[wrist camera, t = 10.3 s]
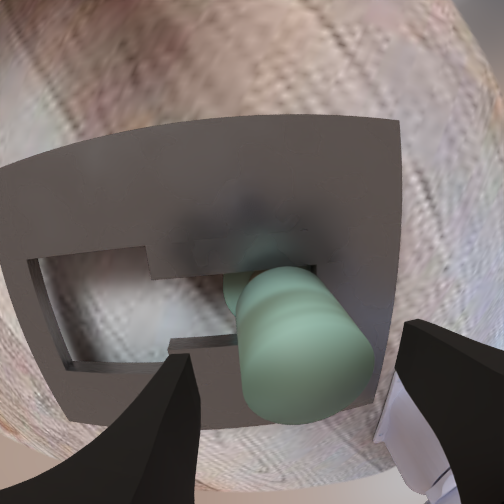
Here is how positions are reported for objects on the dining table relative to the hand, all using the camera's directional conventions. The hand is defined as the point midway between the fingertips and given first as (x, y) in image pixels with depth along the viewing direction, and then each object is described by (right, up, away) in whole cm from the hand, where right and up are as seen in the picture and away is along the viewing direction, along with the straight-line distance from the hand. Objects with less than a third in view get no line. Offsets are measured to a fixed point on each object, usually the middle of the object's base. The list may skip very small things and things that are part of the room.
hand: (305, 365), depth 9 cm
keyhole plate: (-5, +2, +6) cm, 8 cm away
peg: (-1, +2, +7) cm, 7 cm away
